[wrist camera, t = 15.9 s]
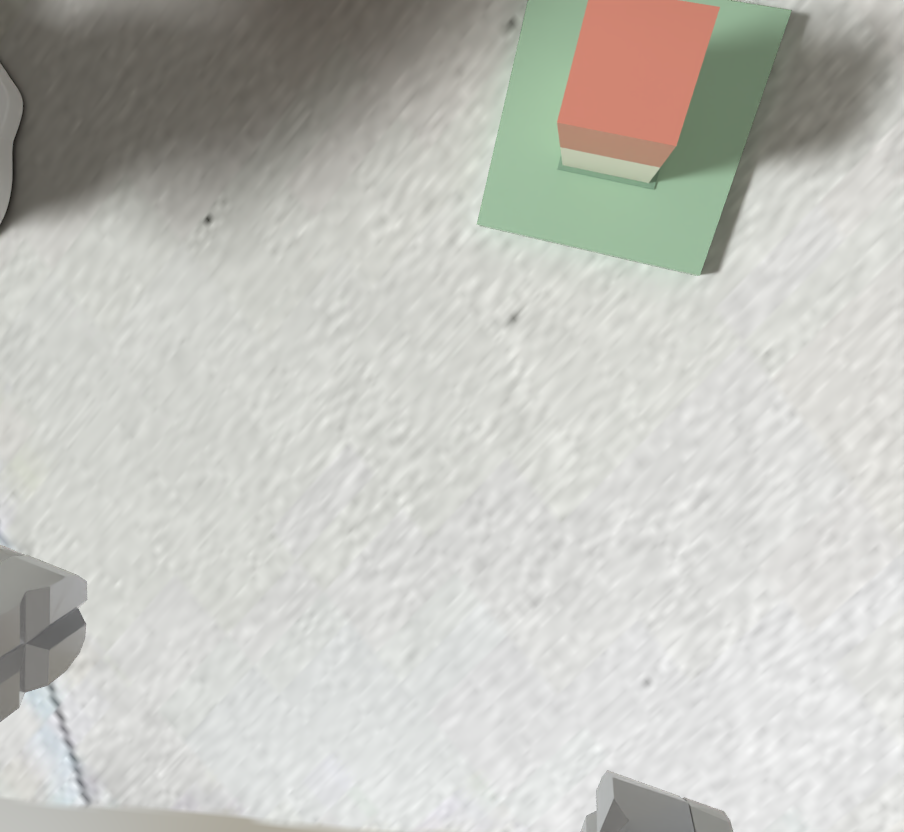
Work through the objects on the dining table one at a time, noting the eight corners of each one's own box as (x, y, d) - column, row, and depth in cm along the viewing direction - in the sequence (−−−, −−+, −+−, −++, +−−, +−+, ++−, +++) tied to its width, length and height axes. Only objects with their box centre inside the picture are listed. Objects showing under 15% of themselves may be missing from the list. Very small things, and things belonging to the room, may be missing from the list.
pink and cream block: (562, 165, 31) (556, 122, 23) (587, 70, 30) (591, -14, 21) (648, 183, 30) (676, 146, 22) (678, 86, 29) (720, 6, 21)
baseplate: (480, 225, 34) (476, 223, 33) (536, -19, 30) (534, -32, 29) (695, 275, 32) (700, 275, 31) (783, 20, 28) (792, 9, 27)
